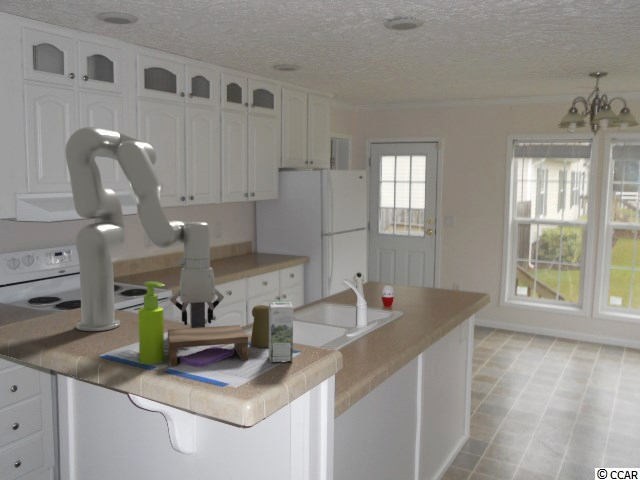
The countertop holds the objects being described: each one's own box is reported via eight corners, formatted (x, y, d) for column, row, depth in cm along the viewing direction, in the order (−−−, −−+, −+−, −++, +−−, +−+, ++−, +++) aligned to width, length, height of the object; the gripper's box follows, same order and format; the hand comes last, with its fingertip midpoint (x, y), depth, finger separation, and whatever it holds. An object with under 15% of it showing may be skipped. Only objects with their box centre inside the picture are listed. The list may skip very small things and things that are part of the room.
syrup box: (290, 355, 148) (290, 300, 146) (293, 362, 142) (293, 306, 140) (268, 356, 147) (268, 301, 145) (270, 363, 141) (270, 306, 140)
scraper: (185, 330, 171) (184, 301, 170) (208, 329, 173) (208, 300, 172) (189, 345, 156) (189, 313, 155) (215, 343, 158) (215, 311, 157)
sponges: (179, 364, 141) (179, 357, 141) (214, 351, 152) (214, 345, 152) (201, 369, 138) (200, 362, 138) (234, 356, 148) (234, 349, 148)
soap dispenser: (154, 366, 138) (153, 285, 136) (134, 361, 141) (132, 282, 139) (172, 359, 143) (171, 281, 141) (152, 355, 146) (150, 278, 144)
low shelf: (167, 352, 149) (167, 329, 149) (239, 346, 155) (239, 325, 155) (170, 366, 138) (170, 342, 137) (247, 359, 144) (247, 336, 143)
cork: (268, 348, 154) (268, 308, 152) (247, 347, 155) (247, 307, 154) (274, 342, 159) (275, 304, 158) (254, 341, 161) (254, 302, 159)
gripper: (167, 266, 161) (168, 328, 163) (228, 264, 167) (228, 324, 169) (166, 262, 169) (166, 322, 171) (224, 261, 174) (224, 318, 176)
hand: (197, 322), depth 170 cm, fingers open, 6 cm apart
